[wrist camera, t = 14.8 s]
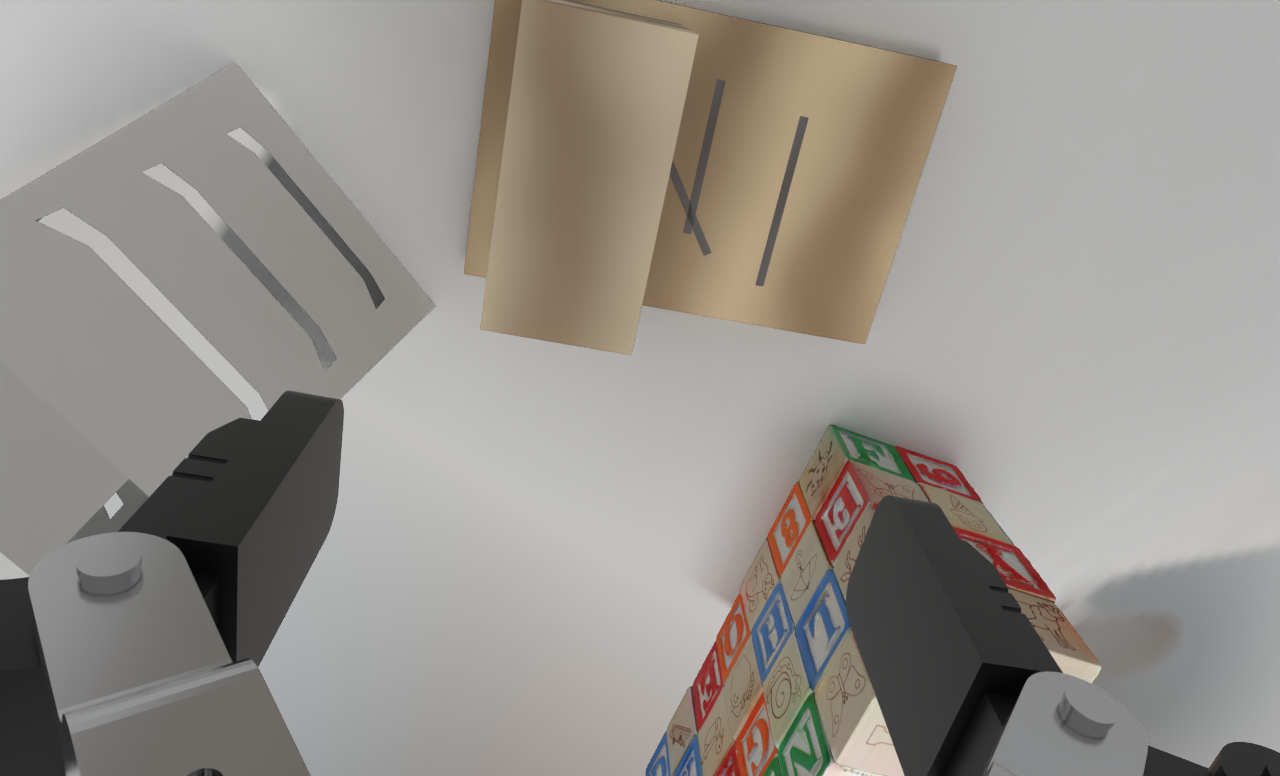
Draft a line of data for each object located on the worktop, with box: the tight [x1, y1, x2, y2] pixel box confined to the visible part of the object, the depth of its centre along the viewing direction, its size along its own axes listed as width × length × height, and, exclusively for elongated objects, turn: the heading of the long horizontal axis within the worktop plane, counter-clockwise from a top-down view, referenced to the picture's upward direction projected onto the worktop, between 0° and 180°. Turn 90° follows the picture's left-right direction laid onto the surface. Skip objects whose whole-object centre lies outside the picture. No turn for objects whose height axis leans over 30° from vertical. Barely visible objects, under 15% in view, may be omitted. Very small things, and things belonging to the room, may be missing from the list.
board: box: [464, 0, 957, 344], centre depth 30 cm, size 15×10×2 cm, turn 79°
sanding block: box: [480, 0, 699, 355], centre depth 26 cm, size 4×9×6 cm, turn 169°
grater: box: [0, 62, 436, 580], centre depth 23 cm, size 10×10×20 cm
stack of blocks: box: [646, 425, 1101, 776], centre depth 35 cm, size 21×6×12 cm, turn 159°
